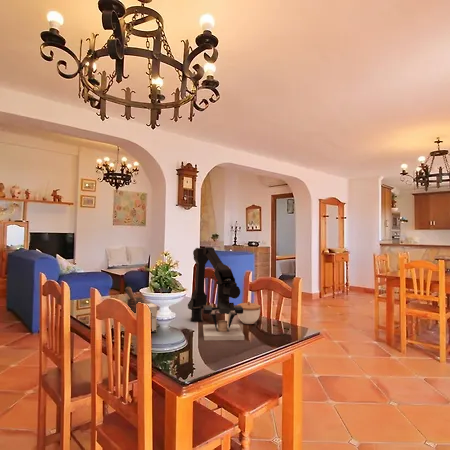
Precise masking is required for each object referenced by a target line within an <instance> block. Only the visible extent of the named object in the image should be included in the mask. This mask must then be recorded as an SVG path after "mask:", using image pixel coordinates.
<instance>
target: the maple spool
mask: <svg viewBox="0 0 450 450" xmlns="http://www.w3.org/2000/svg"><path fill="white" fill-rule="evenodd" d="M217 324H218V332H227V324H228V321H227V320H224V319H222V320H217Z"/></svg>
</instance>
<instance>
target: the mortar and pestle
mask: <svg viewBox="0 0 450 450" xmlns="http://www.w3.org/2000/svg"><path fill="white" fill-rule="evenodd" d="M124 290H125V294H126V295H127V296H128V298H127V299H126V300H127V302H126V303H127V304H126V305H128V306H129V307H130V308H131V310H132V311H133V312H134V313H136V304H137V303H138V302H141V303H144V304H145V297H144V296H134V292H133V290H132V288H131V286H126V287H125V288H124Z"/></svg>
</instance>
